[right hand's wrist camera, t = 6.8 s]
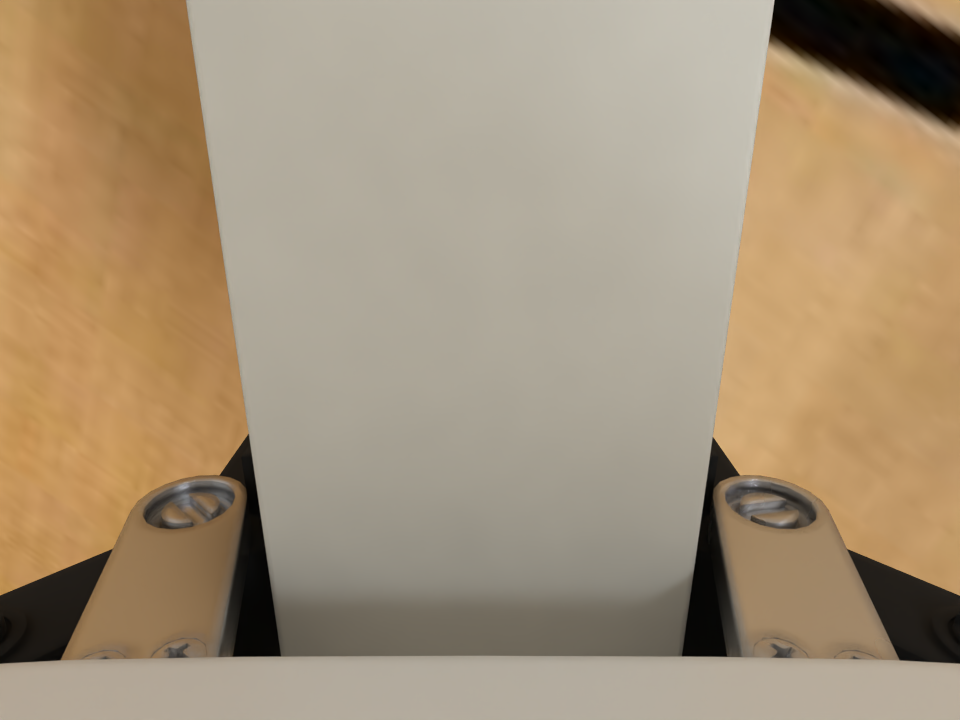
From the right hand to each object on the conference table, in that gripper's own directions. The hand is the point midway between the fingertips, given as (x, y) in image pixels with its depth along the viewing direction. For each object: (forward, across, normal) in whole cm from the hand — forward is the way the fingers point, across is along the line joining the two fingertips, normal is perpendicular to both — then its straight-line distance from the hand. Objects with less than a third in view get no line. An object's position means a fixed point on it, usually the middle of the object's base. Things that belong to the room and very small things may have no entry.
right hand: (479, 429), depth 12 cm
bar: (+3, 0, +34) cm, 34 cm away
